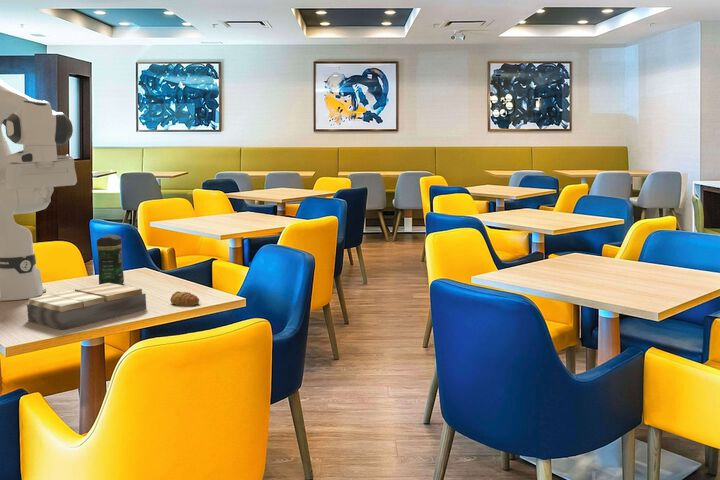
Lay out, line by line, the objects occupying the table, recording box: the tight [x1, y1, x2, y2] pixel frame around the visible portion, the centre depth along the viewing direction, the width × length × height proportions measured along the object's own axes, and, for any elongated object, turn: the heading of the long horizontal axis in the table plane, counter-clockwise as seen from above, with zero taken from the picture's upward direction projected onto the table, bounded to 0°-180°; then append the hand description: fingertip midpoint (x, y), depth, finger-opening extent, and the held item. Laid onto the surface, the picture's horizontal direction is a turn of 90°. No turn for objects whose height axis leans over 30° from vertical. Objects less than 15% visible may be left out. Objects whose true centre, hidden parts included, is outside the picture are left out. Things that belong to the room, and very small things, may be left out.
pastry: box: [170, 291, 200, 307], centre depth 221 cm, size 9×7×4 cm
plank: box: [74, 283, 143, 301], centre depth 213 cm, size 17×12×2 cm
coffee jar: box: [96, 234, 125, 285], centre depth 250 cm, size 10×8×19 cm
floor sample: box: [26, 290, 147, 331], centre depth 208 cm, size 18×28×7 cm, turn 144°
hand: (44, 202), depth 204 cm, fingers closed
